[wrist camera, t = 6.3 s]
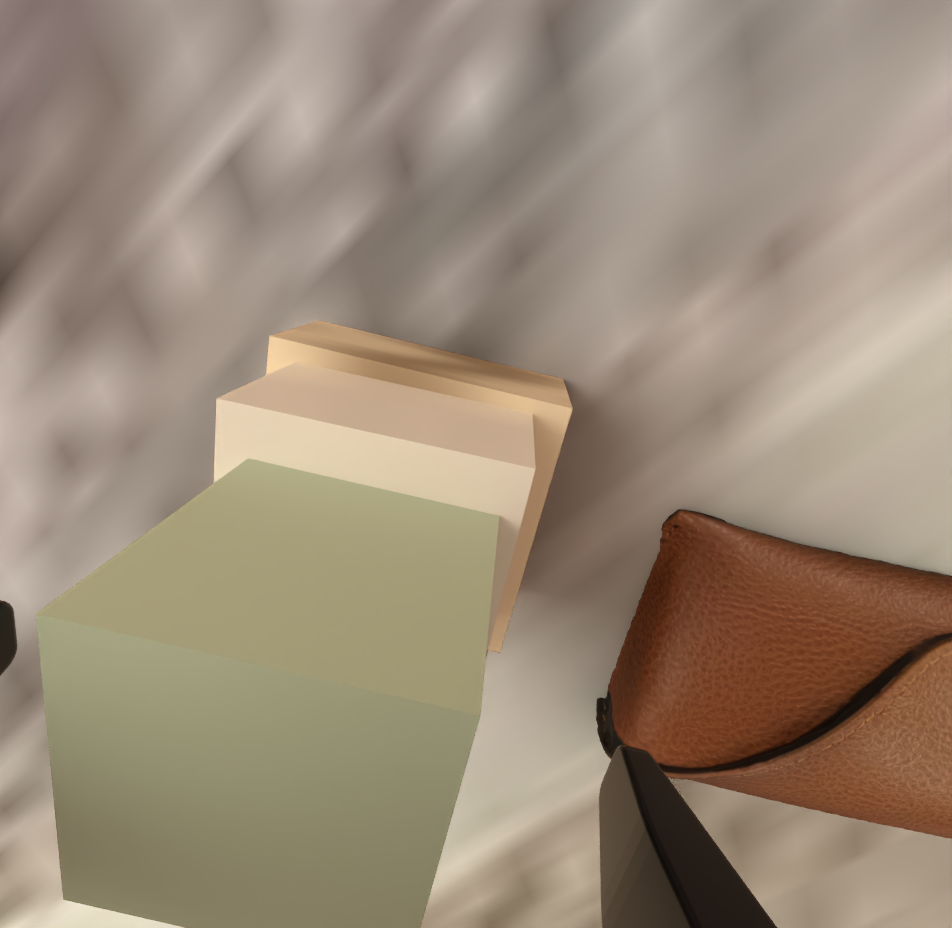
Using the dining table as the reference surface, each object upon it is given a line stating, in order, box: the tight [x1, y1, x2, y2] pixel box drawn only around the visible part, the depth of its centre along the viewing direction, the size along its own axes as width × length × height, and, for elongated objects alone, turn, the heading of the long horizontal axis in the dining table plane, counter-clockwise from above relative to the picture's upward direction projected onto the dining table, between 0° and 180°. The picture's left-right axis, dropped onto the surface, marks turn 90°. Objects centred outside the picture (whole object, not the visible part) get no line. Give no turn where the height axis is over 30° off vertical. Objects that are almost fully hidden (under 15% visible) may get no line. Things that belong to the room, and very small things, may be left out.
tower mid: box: [214, 362, 536, 656], centre depth 12 cm, size 6×6×4 cm
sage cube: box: [36, 458, 499, 928], centre depth 8 cm, size 4×4×4 cm
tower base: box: [266, 321, 573, 653], centre depth 15 cm, size 7×7×4 cm
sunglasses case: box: [596, 510, 952, 838], centre depth 17 cm, size 18×7×7 cm, turn 81°
